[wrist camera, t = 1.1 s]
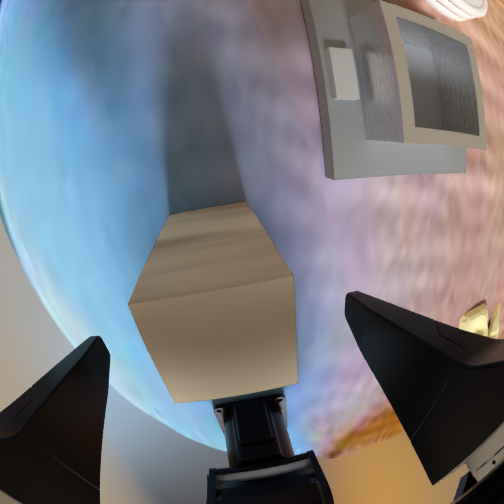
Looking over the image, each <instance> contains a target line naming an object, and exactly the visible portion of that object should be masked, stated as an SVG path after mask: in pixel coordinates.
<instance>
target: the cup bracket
mask: <svg viewBox="0 0 504 504" xmlns="http://www.w3.org/2000/svg"><path fill="white" fill-rule="evenodd" d="M348 25H349V29H350V33H351V38H352V43H353V48H354V53H355V58H356V64H357V69H358V76H359V82H360V89H361V96H362V105H363V113H364V123H365V135H366V140H377V141H389V142H399V143H416V144H434V145H447V146H458V147H467V148H476V149H483V150H486V132H485V117H484V107H483V98H482V91H481V84H480V78H479V73H478V67H477V63H476V58H475V54H474V50H473V46H472V42H471V38H470V37H468V36H466V35H464V34H462V33H461V32H459V31H457V30H455V29H453V28H451V27H449V26H447V25H445V24H442V23H440V22H438V21H436V20H434V19H431V18H429V17H427V16H424V15H422V14H419V13H417V12H414V11H411V10H409V9H406V8H403V7H400V6H397V5H394V4H391V3H388V2H384V1H381V0H378V1H376V2H375V3H373V4H372V5H370V6H369V7H367V8H365V9H364V10H362V11H361V12H359V13H358V14H356V15H355V16H353V17H352V18H350V19H349V20H348ZM403 43H405V44H409V45H412V46H416V47H419V48H422V49H425V50H428V51H431V52H432V57H433V62H434V67H435V72H436V78H437V85H438V92H439V100H440V109H441V120H442V130H437V129H429V128H419V127H415V119H414V109H413V100H412V92H411V85H410V78H409V72H408V67H407V61H406V56H405V51H404V47H403Z"/></svg>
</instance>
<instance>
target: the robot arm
mask: <svg viewBox="0 0 504 504" xmlns="http://www.w3.org/2000/svg"><path fill="white" fill-rule="evenodd" d="M345 317H346V320H347V322H348V324H349V326H350V329H351V331H352V333H353V335H354V338H355V340H356V342H357V345H358V347H359V349H360V351H361V353H362V355H363V356H364V358H365V360H366V361H367V363H368V365H369V367H370V368H371V370H372V372H373V374H374V375H375V377H376V379H377V381H378V382H379V384H380V386H381V388H382V389H383V391H384V393H385V395H386V397H387V398H388V400H389V402H390V404H391V406H392V407H393V409H394V411H395V413H396V415H397V417H398V419H399V420H400V422H401V424H402V426H403V428H404V430H405V432H406V434H407V436H408V437H409V439H410V440H411V444H412V446H413V447H414V449H415V451H416V453H417V455H418V457H419V459H420V461H421V463H422V465H423V467H424V469H425V471H426V473H427V475H428V478H429V480H430V482H431V483H432V485H435V484H437V483H438V482H440V481H441V480H443V479H444V478H446V477H447V476H448V475H450V474H451V473H453V472H454V471H456V470H457V469H458V468H460V467H461V466H462V465H464V464H466V465H467V467H468V468H469V470H470V471H469V472H468V473H466V474H465V475H464V476H463V477H461V479H460V482H459V486H458V489H457V492H456V495H455V498H454V501H453V502H452V503H450V504H504V339H494V338H490V337H487V336H483V335H479V334H476V333H472V332H469V331H465V330H462V329H459V328H455V327H452V326H450V325H447V324H444V323H441V322H439V321H436V320H435V321H434V320H433V319H431V318H428V317H425V316H423V315H420V314H417V313H415V312H412V311H409V310H407V309H404V308H401V307H399V306H396V305H393V304H391V303H388V302H386V301H383V300H380V299H378V298H375V297H372V296H370V295H367V294H364V293H362V292H359V291H354V292H350V293H347V294H346V299H345ZM109 370H110V353H109V351H108V349H107V347H106V345H105V343H104V342H103V340H102V338H101V337H100V336H91V337H89V338H88V339H86V340H85V341H84V342H83V343H82V344H80V345H79V346H78V347H77V348H76V349H74V350H73V351H72V352H71V353H70V354H69V355H67V356H66V357H65V358H64V359H63V360H61V361H60V362H59V363H58V364H57V365H56V366H54V367H53V368H52V369H51V370H50V371H49V372H47V373H46V374H45V375H44V376H43V377H42V378H40V380H38V381H37V382H36V383H35V384H34V385H33V386H32V388H31V387H30V388H29V389H28V390H27V391H26V392H25V393H23V394H22V395H21V396H20V397H19V398H18V399H16V400H15V401H14V402H13V403H11V405H9V406H8V407H6V408H5V409H4V410H3V411H1V412H0V504H100V490H99V489H100V466H101V450H102V438H103V428H104V419H105V411H106V404H107V397H108V387H109ZM213 408H214V413H215V416H216V418H217V420H218V422H219V424H220V427H221V429H222V431H223V433H224V435H225V439H226V447H227V454H228V462H229V468H221V469H216V468H210V469H209V475H207V481H208V482H207V502H206V504H334V500H333V496H332V493H331V490H330V487H329V484H328V482H327V480H326V478H325V476H324V473H323V471H322V469H321V467H320V465H319V463H318V460H317V458H316V456H315V454H314V451H313V450H311V451H307V452H306V453H303V454H299V455H294V452H293V448H292V445H291V442H290V438H289V435H288V431H287V412H286V399H285V396H284V394H276V395H272V396H267V397H262V398H257V399H251V400H246V401H240V402H234V403H227V404H221V405H216V406H214V407H213Z"/></svg>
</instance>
